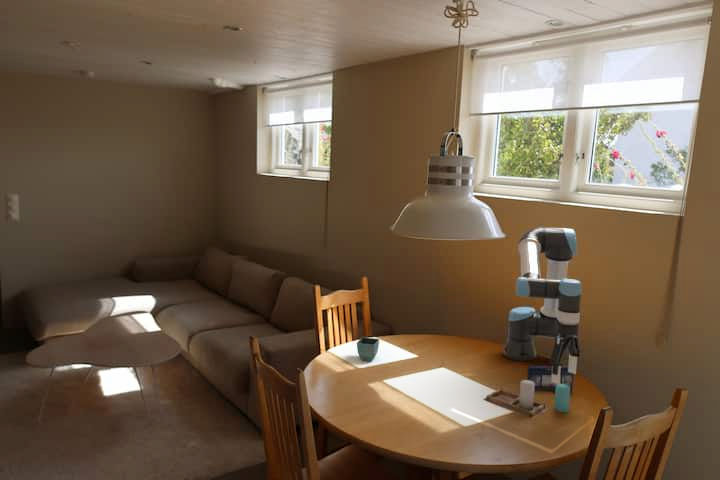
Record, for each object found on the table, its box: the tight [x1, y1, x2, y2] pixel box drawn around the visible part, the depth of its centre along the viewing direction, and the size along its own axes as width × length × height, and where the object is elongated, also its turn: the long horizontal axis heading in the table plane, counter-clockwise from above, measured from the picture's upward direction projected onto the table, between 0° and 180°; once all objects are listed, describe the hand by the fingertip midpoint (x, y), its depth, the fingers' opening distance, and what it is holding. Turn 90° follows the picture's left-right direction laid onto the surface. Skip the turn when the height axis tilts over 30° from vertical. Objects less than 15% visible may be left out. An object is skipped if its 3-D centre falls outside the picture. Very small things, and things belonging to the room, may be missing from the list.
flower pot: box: [356, 336, 380, 362], centre depth 242 cm, size 9×9×9 cm
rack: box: [482, 388, 550, 420], centre depth 197 cm, size 12×21×2 cm, turn 44°
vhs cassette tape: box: [526, 365, 575, 392], centre depth 211 cm, size 18×3×10 cm, turn 89°
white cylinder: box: [519, 379, 535, 411], centre depth 193 cm, size 5×5×10 cm
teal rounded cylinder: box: [553, 384, 571, 413], centre depth 193 cm, size 5×5×10 cm
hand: (563, 377), depth 191 cm, fingers open, 13 cm apart
